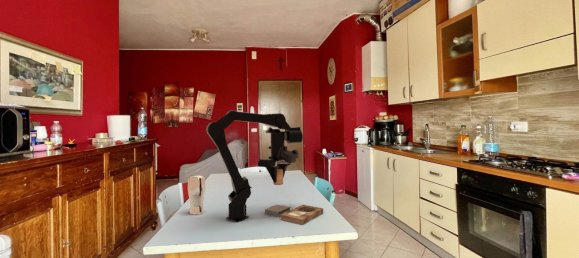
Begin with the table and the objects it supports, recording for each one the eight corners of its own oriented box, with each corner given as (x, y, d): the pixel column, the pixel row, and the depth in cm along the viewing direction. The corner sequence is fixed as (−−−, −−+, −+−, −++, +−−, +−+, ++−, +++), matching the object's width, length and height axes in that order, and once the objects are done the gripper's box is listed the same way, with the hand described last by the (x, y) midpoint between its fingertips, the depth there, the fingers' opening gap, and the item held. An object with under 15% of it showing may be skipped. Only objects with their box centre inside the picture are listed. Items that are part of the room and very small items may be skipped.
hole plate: (302, 225, 101) (302, 218, 101) (280, 219, 107) (280, 213, 107) (323, 213, 114) (323, 207, 114) (302, 209, 120) (302, 203, 120)
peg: (279, 185, 112) (278, 170, 112) (271, 184, 114) (271, 169, 114) (285, 183, 115) (284, 169, 115) (277, 182, 118) (277, 168, 117)
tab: (278, 217, 110) (278, 212, 110) (264, 214, 114) (264, 209, 114) (290, 211, 116) (290, 207, 116) (276, 209, 120) (276, 204, 120)
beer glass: (196, 216, 112) (195, 179, 112) (184, 213, 116) (183, 177, 116) (209, 211, 118) (208, 176, 118) (197, 209, 122) (196, 174, 122)
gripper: (279, 146, 102) (280, 188, 102) (306, 142, 117) (306, 179, 118) (256, 145, 109) (257, 185, 109) (284, 142, 124) (285, 177, 124)
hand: (278, 181), depth 115 cm, fingers closed on peg, 4 cm apart
